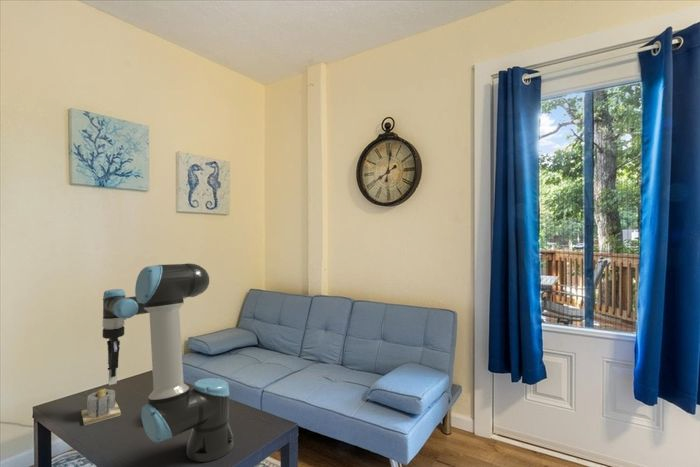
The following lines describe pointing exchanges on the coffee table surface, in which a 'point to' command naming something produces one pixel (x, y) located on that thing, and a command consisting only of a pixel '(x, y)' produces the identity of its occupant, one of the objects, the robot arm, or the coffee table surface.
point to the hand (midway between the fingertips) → (112, 383)
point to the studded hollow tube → (100, 404)
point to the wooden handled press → (91, 420)
